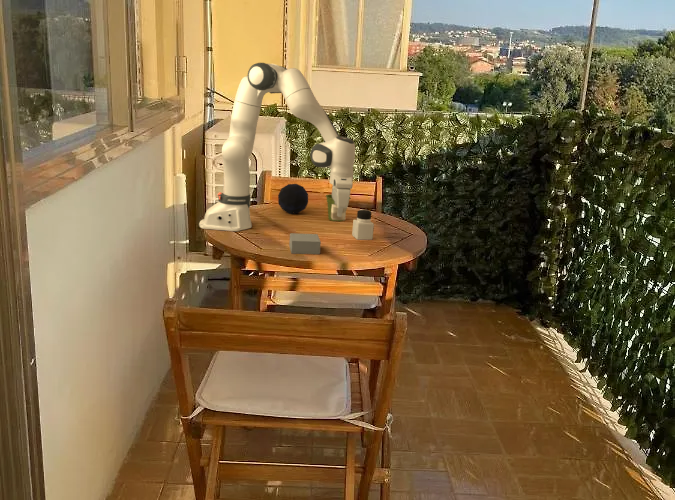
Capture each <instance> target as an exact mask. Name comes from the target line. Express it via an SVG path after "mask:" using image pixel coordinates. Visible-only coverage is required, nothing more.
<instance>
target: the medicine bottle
mask: <svg viewBox="0 0 675 500" xmlns="http://www.w3.org/2000/svg"><path fill="white" fill-rule="evenodd" d="M374 229H375V223H373V222H372V211H370V210H368V209H359V210H357V215H356V219H353V222H352V231H351V232H352V233H351V235H352V237H353V238H355V239H356V240H358V241H359V240H360V241H361V240H362V241H363V240H366V241H367V240H368V241H369V240H370V241H371V240H373V238H374Z"/></svg>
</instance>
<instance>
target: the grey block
mask: <svg viewBox="0 0 675 500" xmlns="http://www.w3.org/2000/svg"><path fill="white" fill-rule="evenodd" d="M288 247H289V250H290V253H291V254H294V255H295V254H299V255H301V254H302V255H321V240H320V237H319V235H318V233H317V234H316V233H295V232H294V233H293V232H292V233H289V246H288Z"/></svg>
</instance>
